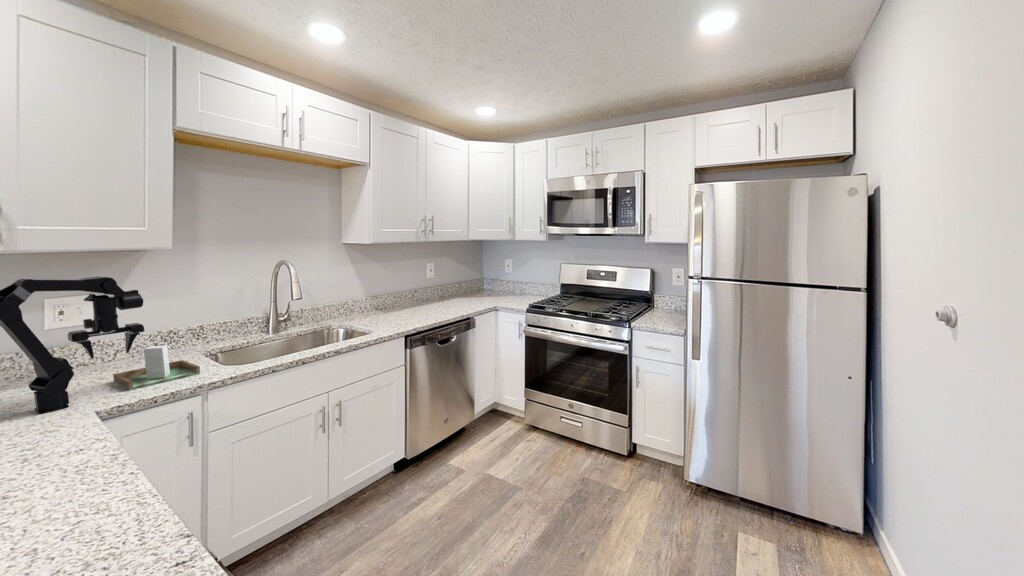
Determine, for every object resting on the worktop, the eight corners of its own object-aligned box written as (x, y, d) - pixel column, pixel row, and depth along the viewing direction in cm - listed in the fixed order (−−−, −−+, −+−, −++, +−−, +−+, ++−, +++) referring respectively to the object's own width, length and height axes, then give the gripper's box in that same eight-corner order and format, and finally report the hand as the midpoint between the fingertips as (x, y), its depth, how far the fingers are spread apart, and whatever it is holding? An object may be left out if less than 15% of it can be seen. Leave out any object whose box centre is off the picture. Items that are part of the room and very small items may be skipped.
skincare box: (170, 374, 165) (167, 345, 164) (165, 377, 161) (162, 347, 160) (151, 375, 163) (148, 346, 162) (146, 379, 159) (143, 349, 158)
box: (129, 390, 149) (128, 382, 149) (113, 381, 158) (113, 374, 157) (200, 373, 168) (199, 366, 167) (183, 366, 176) (182, 359, 176)
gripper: (131, 306, 158) (135, 346, 159) (60, 314, 142) (66, 358, 144) (142, 309, 152) (147, 351, 154) (69, 317, 136) (75, 363, 138)
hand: (110, 355), depth 147 cm, fingers open, 9 cm apart
